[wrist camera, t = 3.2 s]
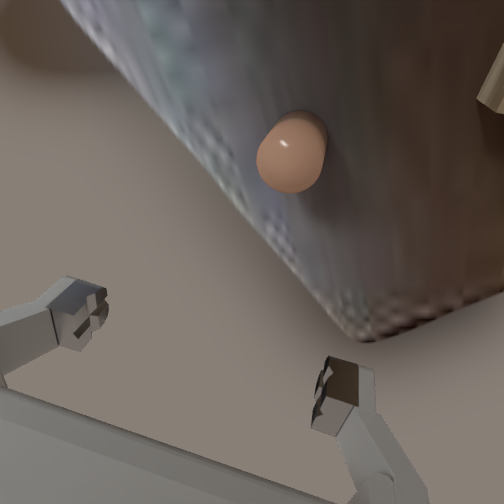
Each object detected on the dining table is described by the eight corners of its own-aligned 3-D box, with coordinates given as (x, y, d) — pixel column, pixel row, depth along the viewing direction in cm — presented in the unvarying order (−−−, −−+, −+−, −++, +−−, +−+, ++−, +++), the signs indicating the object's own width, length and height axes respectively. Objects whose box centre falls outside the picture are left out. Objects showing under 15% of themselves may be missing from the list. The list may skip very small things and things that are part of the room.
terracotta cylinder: (267, 159, 33) (251, 184, 29) (277, 104, 31) (262, 121, 26) (319, 172, 33) (312, 200, 28) (335, 117, 30) (330, 137, 25)
